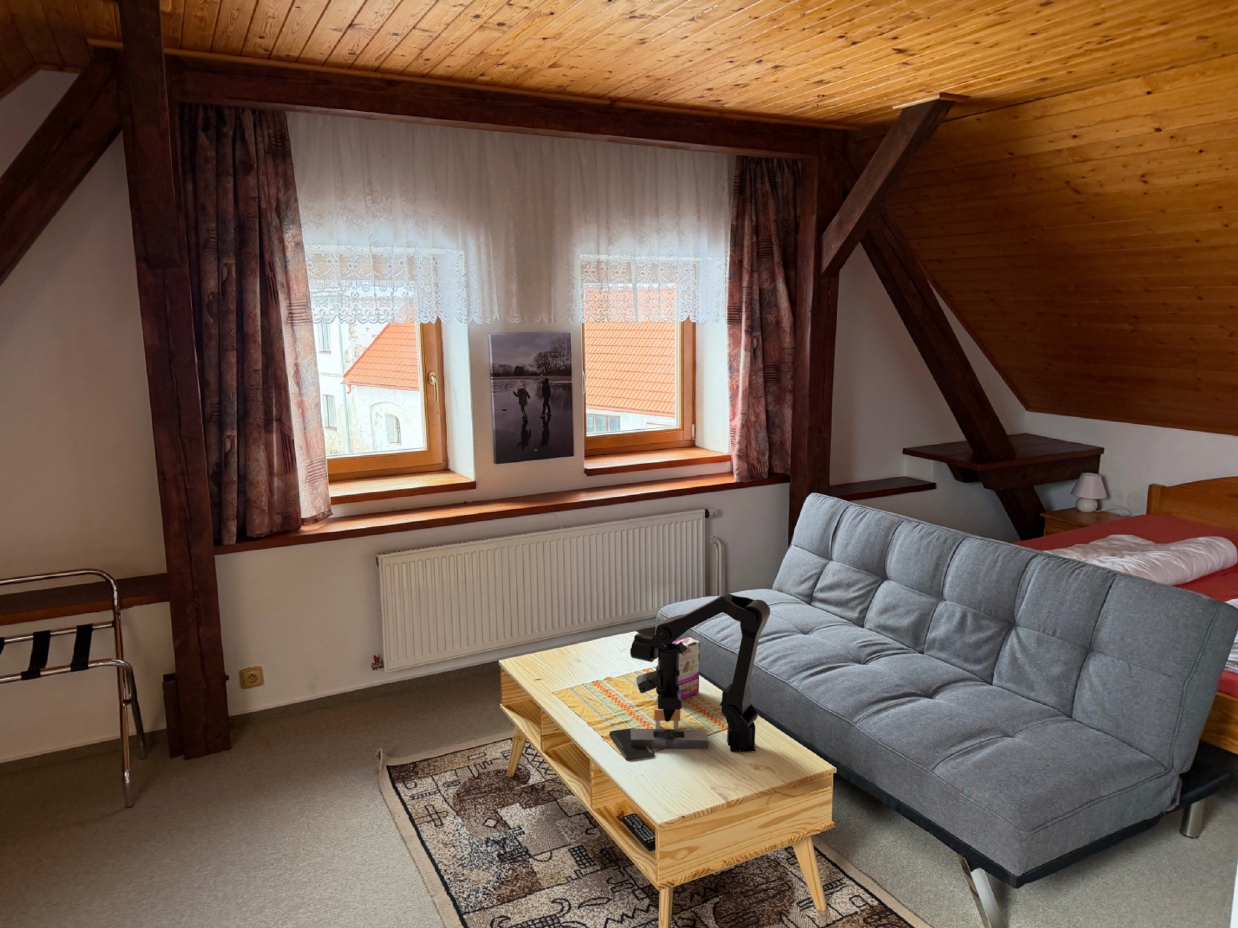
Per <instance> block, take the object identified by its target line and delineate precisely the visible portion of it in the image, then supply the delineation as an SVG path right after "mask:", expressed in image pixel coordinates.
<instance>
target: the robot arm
mask: <svg viewBox="0 0 1238 928" xmlns="http://www.w3.org/2000/svg"><path fill="white" fill-rule="evenodd" d="M722 613H723V614H726V615H727V616H729V617H730V618H731V619H732V620H734V621H737V622H739V625H740V626H739V627H740V631H741V640H740V645H739V650H738V653H737V659H736V664H735V669H734V674H733V679H732V683H729V684H728V685H727V687H725V688H724V690H723V691H722V694H721V701H720V703H719V707H721V709H720V710H721V714H722V715H723V717H724V718H725V721H726V724H727V729H726V730H727V731H726V733H727V735H726V742H727V746H728V747H729V750H730V752H738V753H739V752H747V753H748V752H749V753H750V752H751V753H755V752H756V751H757V749H756V745H755V742H756V723H755V721H756V720H757V719H758V716H759V714H760V713H759V711H758V709H756V708H755V707H754V705H753V703H752V701H751V698H752V694H751V688H750V681H751V679H752V672H753V668H754V664H755V660H756V659H755V658H756V655H757V650H758V649H757V648H758V646H759V645H758V644H759V641H760V636H761V634H762V633H763V631H764V628H765V627H766V624H767V622H768V620H769V617H770V615H771V607H770V606H769V605H768V603H767V602H766V601H764V600H762V599H753V598H749V597H746V596H739V595H734V594H731V593H727V592H724V593H722V594H721V595H720V596H718V597H716V598H715V599H713V600H711V601H708V602H706V603H705V604H702V605H701V606H699V607H697V608H695V609H693V610H691V611H689V612H687V613H684V614H678V615H674V616H670V617H669V618H667V619H665V620H664V621H663V622H661V623H660V624H659V625H657V626H656V630H655V635H653V636H649V635H644V634H643V633H637V634H635V635H634V636H633V637H634V638H633V641H632V643H631V646H630V647H631V648H630V650H629V652H630V653H629V655H630V657H631V658H632V659H635V660H640V661H645V662H649V663H653V662H654V661H655V660H657V665H656V667H655V668H656V669H655V670H654V671H649V672H646V673H643V674H640V675H637V676H636V678H635V679H636V685H637V687H638V690H639V693H640V694H646V692H650V691H652V690H655V691H656V692H655V693H656V694H657V696H656V697H657V698H656V703H657V705H656V706H658V709H663V712H664V717H665V721H664V722H666V723H669V722H671V721H670V719H671V717H672V716H673V714H674V712H675V710H676V709H677V710H680V711H681V709H682V705H683V703H682V700H681V696H680V695H679V694H678V690H679V676H680V672H679V654H683V653H684V652H685V651H686V650H687V647H686V646H685V645H684V644H683V643H682V642H680V643H678V644H676V643H672V642H675V641H677V639H678V638H680V637H681V636H683V634H685V633H686V632H687V631H689V630H690V629H691V628H694V627H696V626H698V625H700V624H702V623H704V622H705V621H708V620H710V619H712V618H713V617H715V616H718V615H720V614H722Z"/></svg>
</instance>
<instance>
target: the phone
mask: <svg viewBox="0 0 1238 928" xmlns="http://www.w3.org/2000/svg"><path fill="white" fill-rule="evenodd" d="M631 729H637V728H635V727H632V728H631V727H630V728H624V729H617V730H610V731H609V737H610V739H611V741H612V742H613V744H614V745H615V746H616V748H617V749H618V751H619V753H620V754H621V755H622V757H623V759H624V760H625V761H636V760H642V759H643V760H644V759H651V758H653V757H654V756H655V752H654V749H651V747H650V746H649V747H639V746H631V739H630V730H631Z"/></svg>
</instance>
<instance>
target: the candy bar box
mask: <svg viewBox="0 0 1238 928" xmlns="http://www.w3.org/2000/svg"><path fill="white" fill-rule="evenodd" d="M680 642H682V643H683V644H684V645H685V646H686V647H687V650H686V651H685V652H684V653H683V654H679V672H680V676H679V690H678V694H679V695H680V696H681V701H682V700H684V699H687V698H690V697H692V696H695V695H698V694H699V692H700V653H701V651H700V649H701V648H700V647H701V644H700V643H701V641H700V640H698V639H695V638H693V637H691V636H688V637H685V638H682V639H678V640H675V641H674V642H672V643H676V644H678V643H680Z"/></svg>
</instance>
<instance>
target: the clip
mask: <svg viewBox="0 0 1238 928" xmlns="http://www.w3.org/2000/svg"><path fill="white" fill-rule="evenodd" d="M653 720H654V729H661V722H663V721H664V722H665V717H664V712H663V709H658V705H655V706H653ZM680 721H681V709H680V710H677V709H676V710H675V712H674V714H673V716H672V717H671V719H670V721H669V722H672V723H673V729H679V723H680Z"/></svg>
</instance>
